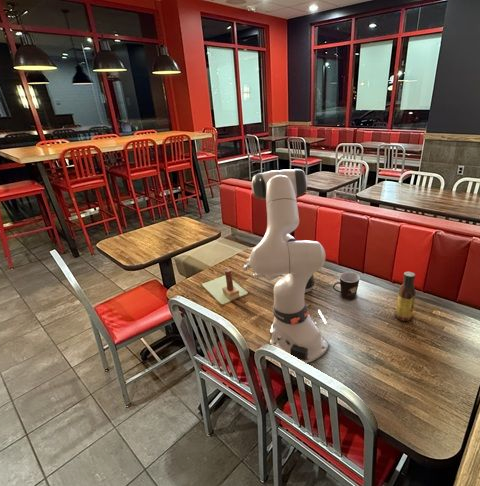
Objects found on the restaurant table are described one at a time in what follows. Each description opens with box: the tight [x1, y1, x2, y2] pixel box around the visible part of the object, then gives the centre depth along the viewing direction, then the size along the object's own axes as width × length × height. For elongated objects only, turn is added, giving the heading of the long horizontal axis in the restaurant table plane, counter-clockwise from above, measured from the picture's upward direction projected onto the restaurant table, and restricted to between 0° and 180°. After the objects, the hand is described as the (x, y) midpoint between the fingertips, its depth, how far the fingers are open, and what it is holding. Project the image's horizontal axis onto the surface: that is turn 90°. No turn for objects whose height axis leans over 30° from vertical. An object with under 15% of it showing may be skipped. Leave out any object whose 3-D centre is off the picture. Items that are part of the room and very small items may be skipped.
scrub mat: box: [201, 274, 249, 305], centre depth 150 cm, size 22×14×1 cm, turn 36°
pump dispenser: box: [305, 274, 315, 294], centre depth 144 cm, size 10×10×15 cm
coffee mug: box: [332, 271, 361, 301], centre depth 139 cm, size 12×9×10 cm
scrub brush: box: [222, 268, 240, 301], centre depth 142 cm, size 7×5×13 cm
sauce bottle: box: [395, 271, 417, 322], centre depth 122 cm, size 6×6×20 cm
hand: (248, 272), depth 147 cm, fingers open, 8 cm apart
